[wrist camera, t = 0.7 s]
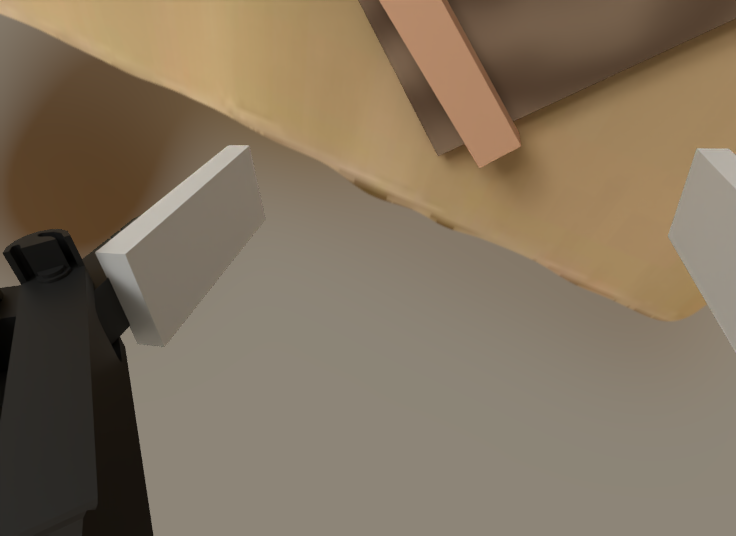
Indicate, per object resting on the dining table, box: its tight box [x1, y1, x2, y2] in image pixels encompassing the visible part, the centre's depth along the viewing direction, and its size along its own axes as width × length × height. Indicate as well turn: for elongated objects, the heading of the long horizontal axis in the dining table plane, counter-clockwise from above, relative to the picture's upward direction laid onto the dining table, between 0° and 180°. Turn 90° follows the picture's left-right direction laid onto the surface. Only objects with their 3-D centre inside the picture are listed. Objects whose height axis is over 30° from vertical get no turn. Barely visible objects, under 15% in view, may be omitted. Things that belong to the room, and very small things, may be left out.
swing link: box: [379, 0, 521, 168], centre depth 29 cm, size 18×5×4 cm, turn 36°
